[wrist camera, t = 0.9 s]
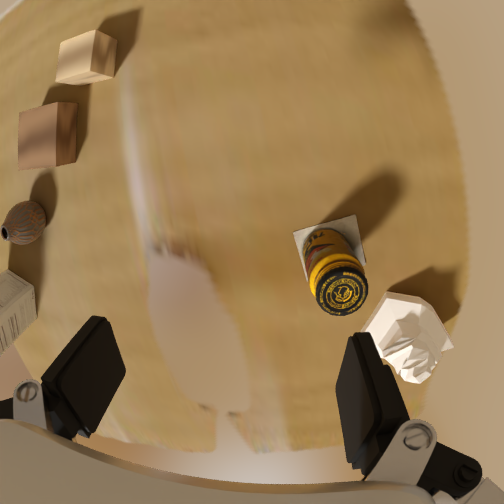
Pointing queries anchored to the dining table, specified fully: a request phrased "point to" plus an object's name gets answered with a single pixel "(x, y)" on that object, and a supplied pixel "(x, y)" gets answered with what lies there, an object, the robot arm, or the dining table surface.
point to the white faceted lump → (408, 335)
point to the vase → (23, 223)
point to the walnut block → (47, 136)
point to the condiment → (334, 264)
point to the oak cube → (86, 59)
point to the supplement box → (15, 308)
